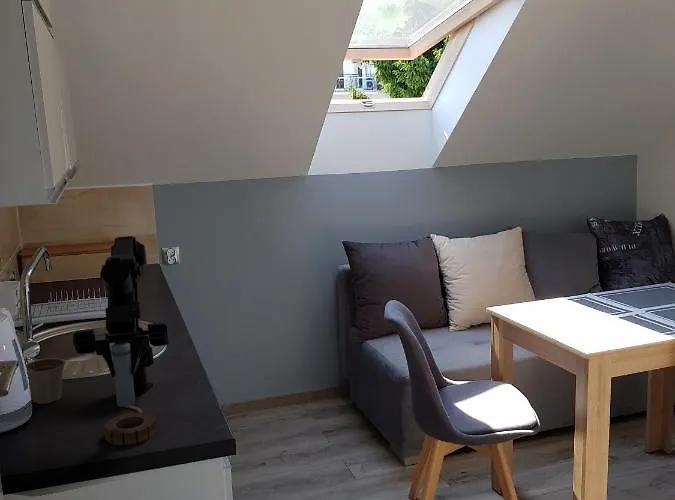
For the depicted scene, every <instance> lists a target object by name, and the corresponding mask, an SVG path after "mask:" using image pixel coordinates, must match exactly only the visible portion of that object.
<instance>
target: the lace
mask: <svg viewBox="0 0 675 500" xmlns="http://www.w3.org/2000/svg"><path fill="white" fill-rule="evenodd" d="M124 408H125V409H130V410H133V411H136V412H137V413H138V412H139V413H144V412H143V410H142V409H141V408H140V407H137V406H134V405H130V406H126V407H124Z"/></svg>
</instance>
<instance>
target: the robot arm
mask: <svg viewBox="0 0 675 500" xmlns="http://www.w3.org/2000/svg"><path fill="white" fill-rule="evenodd" d="M145 265H147V252H146V247H145V244H143V243H141V242H140V241H138V240H137V238H136V236H133V235H130V236H129V235H128V236H117V237H115V238H114V243H113V244H112V246H111V247H110V256H108V257H106V259H105V262H104V264H102V266H101V270H100V279H101V282H102V285H103V287H104V291H105V293H106V295H107V307H106V308H105V309H104V310H105V331H107V333H106V332H101V333H95V329H94V328H93V329H92V328H91V329H80V330H75V331H74V333H73V334H72V343H73V345H74V349H75V351H76V354H78V355H79V354H80V355H84V354H92V353H96V354H95V355H97V356H102V358H103V359H104V361H105V363H106V365H107V367H108V371H109V372H110V375H111V377H112V378H114V368H113V357H112V348H111V346H110V344H117V343H129V344H130V348H131V362H132V366H131V367H132V375H133V384H134V394H135V396H136V395H137V396H141V395H143V394H144V393H145V392H147V391H148V390H149V389H150V388H152V387H153V386H154V383H152V382H148V373H147V367H148V368H149V367H151V366H152V365H154V364H155V362H154V361H155V360H154V352H153V347H162V346H163V347H165V346H167V345H169V343H170V342H169V331H168V325H167V323H165V322H155V323H154V322H153V323H148V324H147V330H146V329H145V330H144V329H143V328H142V327H140V319H141V318H142V313H141V302H140V300H139V297H140V296H139V295H140V294H139V281H140V279H141V278H142V277H143V276H144V274H145ZM152 346H153V347H152Z"/></svg>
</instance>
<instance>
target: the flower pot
mask: <svg viewBox="0 0 675 500" xmlns="http://www.w3.org/2000/svg"><path fill="white" fill-rule="evenodd" d="M25 365H26V367H27V374H28V379H29V383H28V387H29V386H30V387H29V390H30V394H31V398H32V401H33V403H36V404H37V405H44V404H51V403H53V402H55V401H57V402H58V401H59V400H60V399H61V398H62V389H63V384H62V383H63V372H64V367H65V365H66V360H64V359H63V358H58V357H55V358H50V357H49V358H42V359H36V360H34V361H30V362H27V363H26V364H25Z"/></svg>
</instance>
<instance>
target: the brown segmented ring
mask: <svg viewBox="0 0 675 500" xmlns="http://www.w3.org/2000/svg"><path fill="white" fill-rule="evenodd" d="M156 433H157V428H156V417H155V416H154V415H152V414H150V413H147V412H143V413H139V412H138V411H136V412H130V413H129V412H128V413H124V414H120V415H118V416H115V417H113V418H111V419H109V420H108V421H107V422H105V424H104V435H105V440H106V442H108V443H109V444H111V445H112V444H113V445H116V446H124V445H125V446H128V445H129V446H131V445H137V443H138V444H140V443H142V442H145V441H147V440H149V439H151V438H152V437H153V436H155V434H156Z"/></svg>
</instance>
